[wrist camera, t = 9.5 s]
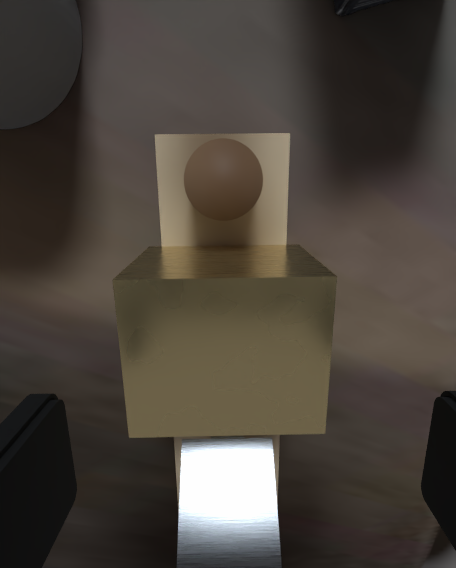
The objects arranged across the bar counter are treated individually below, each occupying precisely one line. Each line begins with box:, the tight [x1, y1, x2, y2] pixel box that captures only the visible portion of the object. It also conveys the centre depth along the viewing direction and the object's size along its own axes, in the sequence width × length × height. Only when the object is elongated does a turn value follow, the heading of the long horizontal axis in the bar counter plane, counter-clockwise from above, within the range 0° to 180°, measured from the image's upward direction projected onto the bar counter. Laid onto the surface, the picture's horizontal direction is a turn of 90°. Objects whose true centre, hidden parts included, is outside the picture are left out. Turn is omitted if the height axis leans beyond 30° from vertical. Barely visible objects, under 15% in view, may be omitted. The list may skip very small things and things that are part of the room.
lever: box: [177, 435, 282, 568], centre depth 16 cm, size 5×1×11 cm
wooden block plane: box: [155, 133, 290, 510], centre depth 20 cm, size 6×22×8 cm, turn 1°
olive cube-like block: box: [113, 245, 337, 438], centre depth 15 cm, size 7×6×6 cm
